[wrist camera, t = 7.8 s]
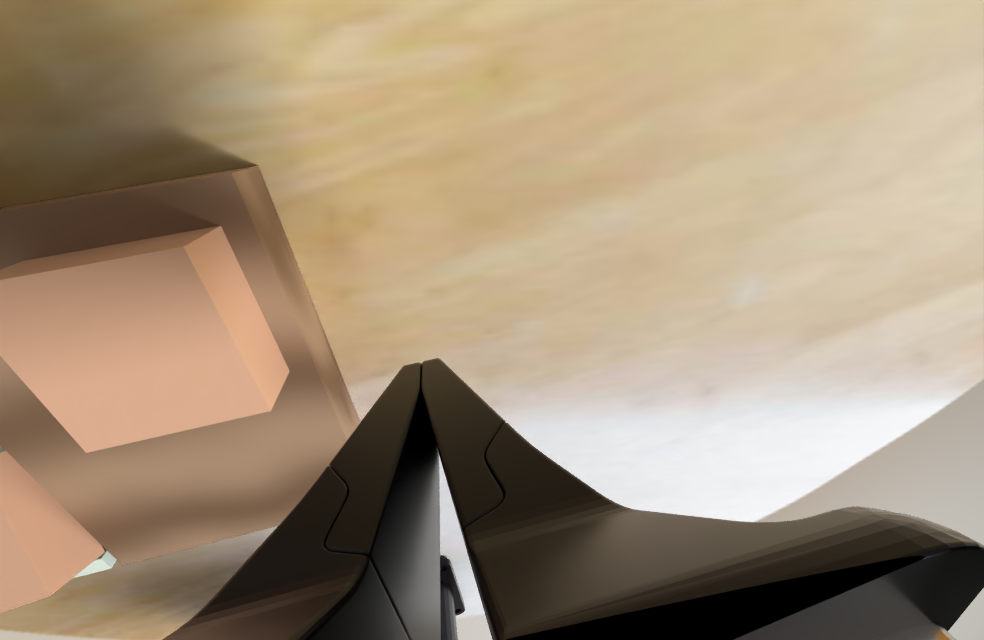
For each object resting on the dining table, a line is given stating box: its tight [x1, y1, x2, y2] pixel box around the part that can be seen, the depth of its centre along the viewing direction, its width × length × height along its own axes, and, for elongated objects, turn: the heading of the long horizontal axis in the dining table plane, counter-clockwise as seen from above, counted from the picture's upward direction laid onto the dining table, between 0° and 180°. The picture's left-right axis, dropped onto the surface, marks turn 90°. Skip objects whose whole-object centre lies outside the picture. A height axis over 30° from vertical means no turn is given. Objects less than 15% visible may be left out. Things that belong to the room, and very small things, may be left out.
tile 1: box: [0, 226, 289, 453], centre depth 13 cm, size 6×6×2 cm
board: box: [0, 165, 360, 566], centre depth 17 cm, size 16×12×2 cm
